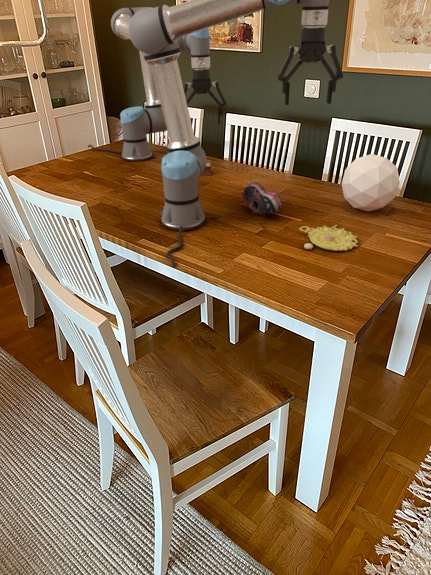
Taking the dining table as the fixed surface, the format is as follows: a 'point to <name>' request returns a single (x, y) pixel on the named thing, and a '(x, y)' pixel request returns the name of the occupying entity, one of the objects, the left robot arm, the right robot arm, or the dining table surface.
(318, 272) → the dining table surface
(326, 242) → the decorative object
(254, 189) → the athletic shoe
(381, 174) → the sphere
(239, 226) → the dining table surface
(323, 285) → the dining table surface
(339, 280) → the dining table surface
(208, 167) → the block
